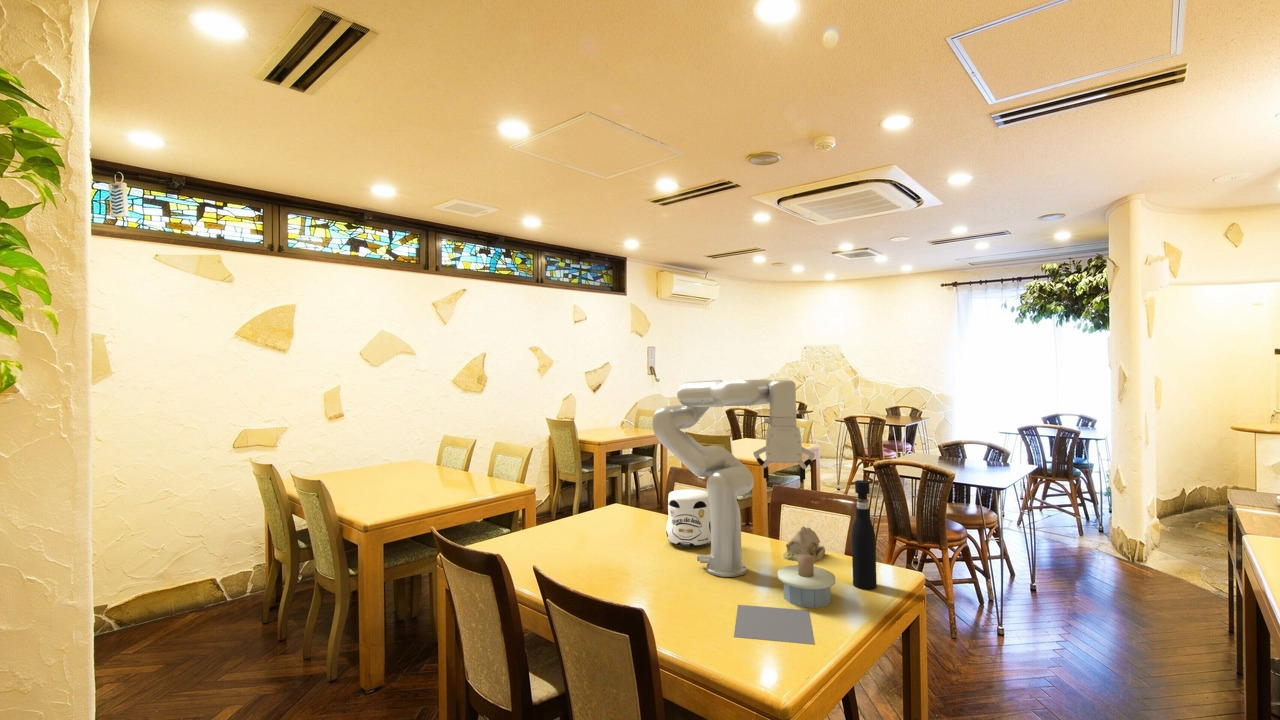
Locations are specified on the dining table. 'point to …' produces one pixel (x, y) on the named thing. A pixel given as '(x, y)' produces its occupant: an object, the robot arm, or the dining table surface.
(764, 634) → the mat
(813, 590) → the bowl
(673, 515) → the milk container
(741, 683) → the dining table surface
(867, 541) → the black water bottle
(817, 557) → the ceramic model
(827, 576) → the lid
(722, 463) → the robot arm
